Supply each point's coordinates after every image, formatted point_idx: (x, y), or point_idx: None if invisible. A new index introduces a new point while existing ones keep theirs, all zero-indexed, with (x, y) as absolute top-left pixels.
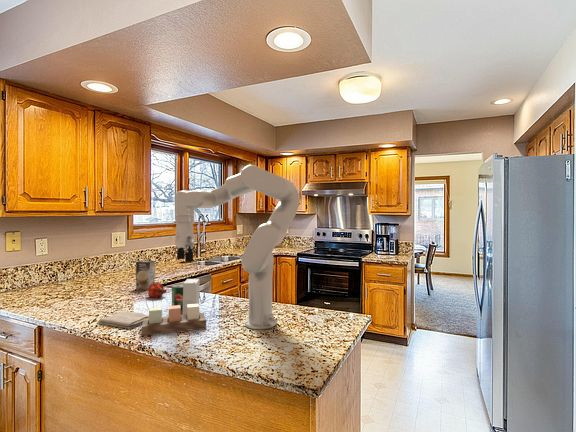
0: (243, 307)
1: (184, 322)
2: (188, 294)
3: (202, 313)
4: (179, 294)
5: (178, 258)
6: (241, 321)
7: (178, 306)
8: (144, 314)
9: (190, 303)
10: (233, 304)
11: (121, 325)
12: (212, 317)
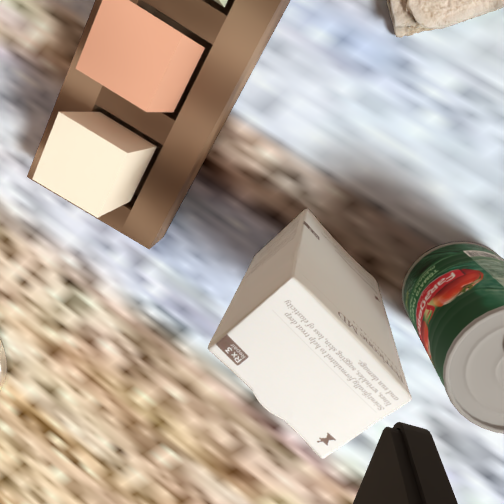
0: (191, 473)
1: (68, 71)
2: (267, 270)
3: (139, 236)
4: (449, 300)
5: (388, 443)
6: (27, 331)
7: (122, 81)
8: (475, 13)
9: (264, 258)
10: (269, 484)
11: None
12: (170, 293)
